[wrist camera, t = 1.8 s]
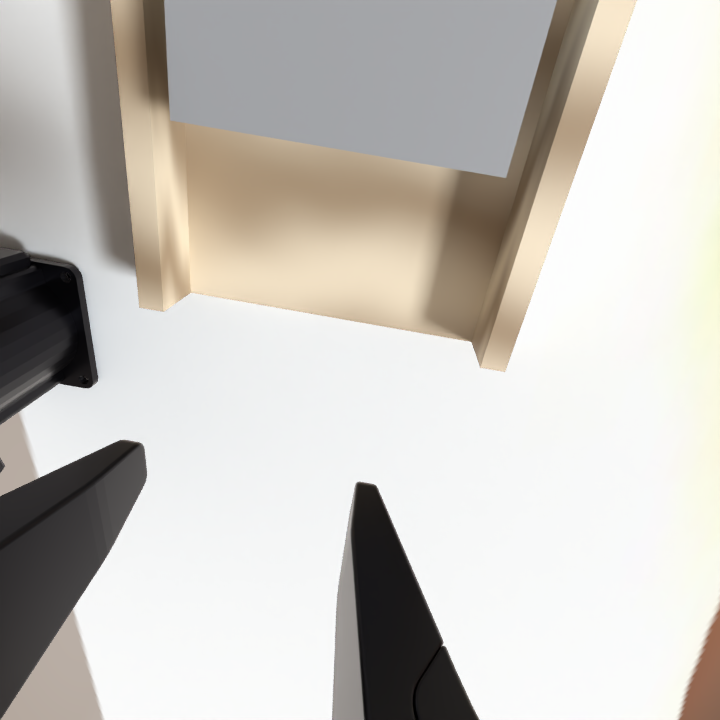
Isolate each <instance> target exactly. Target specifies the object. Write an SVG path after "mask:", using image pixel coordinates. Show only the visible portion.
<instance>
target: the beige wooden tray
mask: <svg viewBox="0 0 720 720" xmlns="http://www.w3.org/2000/svg"><path fill="white" fill-rule="evenodd" d="M636 2H637V0H557V2H556V6H555V9H554V13H553V16H552V20H551V23H550V27H549V30H548V34H547V37H546V41H545V44H544V48H543V51H542V55H541V58H540V62H539V65H538V69H537V72H536V76H535V79H534V83H533V86H532V90H531V93H530V97H529V100H528V103H527V107H526V110H525V114H524V117H523V121H522V124H521V128H520V131H519V135H518V138H517V142H516V145H515V149H514V152H513V156H512V159H511V163H510V166H509V170H508V173H507V177H506V178H503V177H497V176H491V175H485V174H480V173H474V172H468V171H462V170H456V169H451V168H445V167H439V166H433V165H427V164H421V163H416V162H410V161H404V160H398V159H392V158H386V157H381V156H375V155H369V154H363V153H357V152H351V151H346V150H340V149H334V148H328V147H322V146H316V145H311V144H305V143H299V142H293V141H287V140H281V139H276V138H270V137H264V136H258V135H252V134H246V133H241V132H235V131H229V130H223V129H217V128H211V127H206V126H200V125H194V124H188V123H182V122H176V121H171V120H170V109H169V88H168V68H167V48H166V27H165V7H164V0H110V3H111V13H112V24H113V34H114V45H115V55H116V66H117V76H118V87H119V97H120V108H121V118H122V129H123V139H124V150H125V160H126V171H127V181H128V192H129V203H130V213H131V224H132V234H133V245H134V255H135V266H136V276H137V287H138V297H139V308H145V309H151V310H156V311H162V312H164V311H165V310H167V309H168V308H170V307H171V306H173V305H174V304H175V303H177V302H178V301H180V300H181V299H182V298H184V297H185V296H187V295H188V294H189V293H196V294H202V295H208V296H214V297H219V298H225V299H231V300H236V301H242V302H248V303H253V304H259V305H265V306H271V307H276V308H282V309H288V310H293V311H299V312H305V313H310V314H316V315H322V316H328V317H333V318H339V319H345V320H350V321H356V322H362V323H367V324H373V325H379V326H384V327H390V328H396V329H402V330H407V331H413V332H419V333H424V334H430V335H436V336H441V337H447V338H453V339H459V340H464V341H470V342H472V345H473V348H474V350H475V353H476V356H477V359H478V362H479V365H480V368H486V369H491V370H497V371H503V372H505V370H506V368H507V365H508V362H509V359H510V356H511V353H512V351H513V348H514V345H515V342H516V339H517V337H518V334H519V331H520V328H521V325H522V322H523V320H524V317H525V314H526V311H527V308H528V306H529V303H530V300H531V297H532V294H533V292H534V289H535V286H536V283H537V280H538V277H539V275H540V272H541V269H542V266H543V263H544V261H545V258H546V255H547V252H548V249H549V246H550V244H551V241H552V238H553V235H554V232H555V230H556V227H557V224H558V221H559V218H560V216H561V213H562V210H563V207H564V204H565V201H566V199H567V196H568V193H569V190H570V187H571V185H572V182H573V179H574V176H575V173H576V170H577V168H578V165H579V162H580V159H581V156H582V154H583V151H584V148H585V145H586V142H587V140H588V137H589V134H590V131H591V128H592V125H593V123H594V120H595V117H596V114H597V111H598V109H599V106H600V103H601V100H602V97H603V94H604V92H605V89H606V86H607V83H608V80H609V78H610V75H611V72H612V69H613V66H614V64H615V61H616V58H617V55H618V52H619V49H620V47H621V44H622V41H623V38H624V35H625V33H626V30H627V27H628V24H629V21H630V19H631V16H632V13H633V10H634V7H635V4H636Z"/></svg>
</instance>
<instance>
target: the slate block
mask: <svg viewBox="0 0 720 720" xmlns="http://www.w3.org/2000/svg"><path fill="white" fill-rule="evenodd" d="M556 2H557V0H164V7H165V27H166V48H167V68H168V88H169V109H170V120H171V121H176V122H182V123H188V124H194V125H200V126H206V127H211V128H217V129H223V130H229V131H235V132H241V133H246V134H252V135H258V136H264V137H270V138H276V139H281V140H287V141H293V142H299V143H305V144H311V145H316V146H322V147H328V148H334V149H340V150H346V151H351V152H357V153H363V154H369V155H375V156H381V157H386V158H392V159H398V160H404V161H410V162H416V163H421V164H427V165H433V166H439V167H445V168H451V169H456V170H462V171H468V172H474V173H480V174H485V175H491V176H497V177H503V178H506V177H507V173H508V170H509V166H510V163H511V159H512V156H513V152H514V149H515V145H516V142H517V138H518V135H519V131H520V128H521V124H522V121H523V117H524V114H525V110H526V107H527V103H528V100H529V97H530V93H531V90H532V86H533V83H534V79H535V76H536V72H537V69H538V65H539V62H540V58H541V55H542V51H543V48H544V44H545V41H546V37H547V34H548V30H549V27H550V23H551V20H552V16H553V13H554V9H555V6H556Z"/></svg>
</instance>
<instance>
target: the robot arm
mask: <svg viewBox="0 0 720 720" xmlns="http://www.w3.org/2000/svg"><path fill="white" fill-rule="evenodd" d="M66 273H68V274H69V275H70V277H71V279H69V278H68V277H67V275H66ZM84 376H85V377H86V378H87V379H88V380H87V379H86V378H85V377H84ZM97 381H98V375H97V368H96V362H95V355H94V349H93V343H92V336H91V330H90V323H89V317H88V311H87V304H86V298H85V291H84V285H83V279H82V275H81V272H80V271H79V270H78V269H77V268H76V267H75V266H73V265H70V264H64V263H59V262H53V261H47V260H41V259H36V258H30V255H28V254H27V253H25V252H23V251H19V250H13V249H7V248H2V247H0V425H1V424H2V423H4V422H5V421H6V420H8V419H9V418H11V417H12V416H14V415H15V414H16V413H18V412H19V411H21V410H22V409H24V408H25V407H26V406H28V405H29V404H31V403H32V402H33V401H35V400H36V399H38V398H39V397H41V396H42V395H43V394H45V393H46V392H48V391H49V390H51V389H52V388H53V387H55V386H56V385H58V384H64V385H70V386H76V387H81V388H90V387H92V386H93V385H94V384H96V383H97ZM4 467H5V465H4V463H3V462H2V460H1V458H0V472H1V471H2V470H3V468H4ZM146 478H147V468H146V459H145V450H144V446H143V445H142V444H141V443H139V442H134V441H129V440H120V441H117V442H115V443H113V444H111V445H108V446H106V447H104V448H102V449H100V450H98V451H96V452H94V453H91V454H89V455H87V456H85V457H83V458H81V459H79V460H77V461H74V462H72V463H70V464H68V465H66V466H64V467H62V468H60V469H57V470H55V471H53V472H51V473H49V474H47V475H45V476H42V477H40V478H38V479H36V480H34V481H32V482H30V483H28V484H26V485H23V486H21V487H19V488H17V489H15V490H13V491H11V492H8V493H6V494H4V495H2V496H0V719H1V718H2V717H3V715H4V714H5V712H6V711H7V709H8V707H9V706H10V704H11V703H12V701H13V700H14V698H15V697H16V695H17V694H18V692H19V691H20V689H21V688H22V686H23V685H24V683H25V682H26V680H27V678H28V677H29V675H30V674H31V672H32V671H33V669H34V668H35V666H36V665H37V663H38V662H39V660H40V658H41V657H42V655H43V654H44V652H45V651H46V649H47V648H48V646H49V645H50V643H51V642H52V640H53V639H54V637H55V635H56V634H57V632H58V631H59V629H60V628H61V626H62V625H63V623H64V622H65V620H66V619H67V617H68V615H69V614H70V613H71V611H72V609H73V608H74V606H75V605H76V603H77V602H78V600H79V599H80V597H81V596H82V594H83V593H84V591H85V590H86V588H87V586H88V585H89V583H90V582H91V580H92V579H93V577H94V576H95V574H96V573H97V571H98V570H99V568H100V567H101V565H102V563H103V562H104V560H105V558H106V557H107V555H108V554H109V552H110V550H111V548H112V546H113V544H114V543H115V541H116V539H117V537H118V535H119V533H120V531H121V529H122V527H123V525H124V523H125V521H126V519H127V517H128V515H129V514H130V512H131V510H132V508H133V506H134V504H135V502H136V500H137V498H138V496H139V494H140V492H141V490H142V488H143V486H144V484H145V482H146ZM442 645H443V640H442V637H441V635H440V633H439V630H438V628H437V626H436V623H435V621H434V619H433V616H432V614H431V612H430V609H429V607H428V605H427V602H426V600H425V598H424V595H423V593H422V591H421V588H420V586H419V584H418V581H417V579H416V577H415V574H414V572H413V570H412V567H411V565H410V563H409V560H408V558H407V556H406V553H405V551H404V549H403V546H402V544H401V542H400V539H399V537H398V535H397V532H396V530H395V528H394V525H393V523H392V521H391V518H390V516H389V514H388V511H387V509H386V506H385V504H384V502H383V499H382V497H381V495H380V492H379V490H378V488H377V486H376V485H374V484H370V483H364V482H357V483H356V485H355V489H354V494H353V499H352V504H351V509H350V515H349V521H348V527H347V534H346V540H345V547H344V553H343V560H342V566H341V573H340V579H339V586H338V594H337V608H336V633H335V659H334V685H333V711H332V720H479V718H478V716H477V714H476V712H475V710H474V708H473V706H472V704H471V702H470V700H469V698H468V696H467V693H466V691H465V689H464V687H463V685H462V683H461V680H460V678H459V676H458V674H457V672H456V669H455V667H454V665H453V662H452V660H451V658H450V655H449V653H448V651H447V648H446V647H445V646H442Z"/></svg>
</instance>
